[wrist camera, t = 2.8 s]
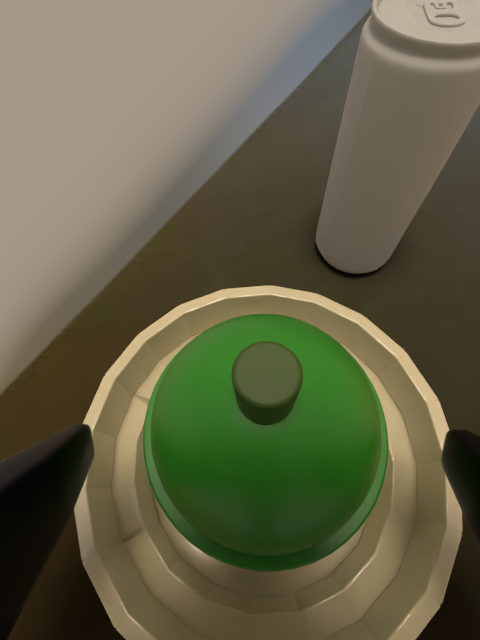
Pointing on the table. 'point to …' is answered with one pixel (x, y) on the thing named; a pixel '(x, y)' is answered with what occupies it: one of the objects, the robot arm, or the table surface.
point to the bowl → (259, 586)
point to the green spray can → (265, 443)
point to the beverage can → (398, 125)
